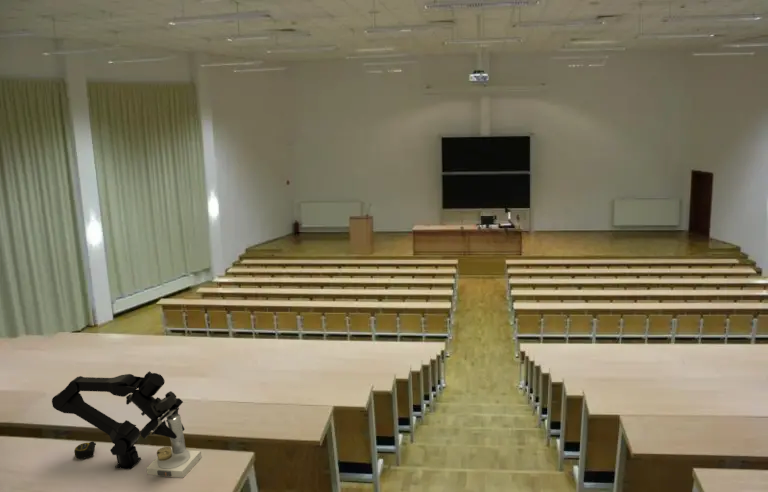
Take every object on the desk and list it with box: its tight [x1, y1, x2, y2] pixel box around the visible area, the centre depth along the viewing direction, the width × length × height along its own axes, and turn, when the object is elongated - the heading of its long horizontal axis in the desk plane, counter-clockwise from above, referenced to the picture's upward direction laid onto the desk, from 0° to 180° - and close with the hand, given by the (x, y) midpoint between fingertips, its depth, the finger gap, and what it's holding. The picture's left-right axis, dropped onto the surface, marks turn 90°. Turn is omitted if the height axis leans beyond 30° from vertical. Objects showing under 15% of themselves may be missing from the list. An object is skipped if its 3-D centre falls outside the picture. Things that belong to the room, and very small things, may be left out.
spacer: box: [166, 413, 187, 454], centre depth 206 cm, size 4×4×13 cm
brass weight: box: [156, 446, 172, 461], centre depth 210 cm, size 5×5×2 cm
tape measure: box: [73, 441, 97, 460], centre depth 221 cm, size 7×7×4 cm
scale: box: [146, 448, 202, 479], centre depth 210 cm, size 14×13×3 cm
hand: (179, 434), depth 206 cm, fingers closed on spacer, 4 cm apart
